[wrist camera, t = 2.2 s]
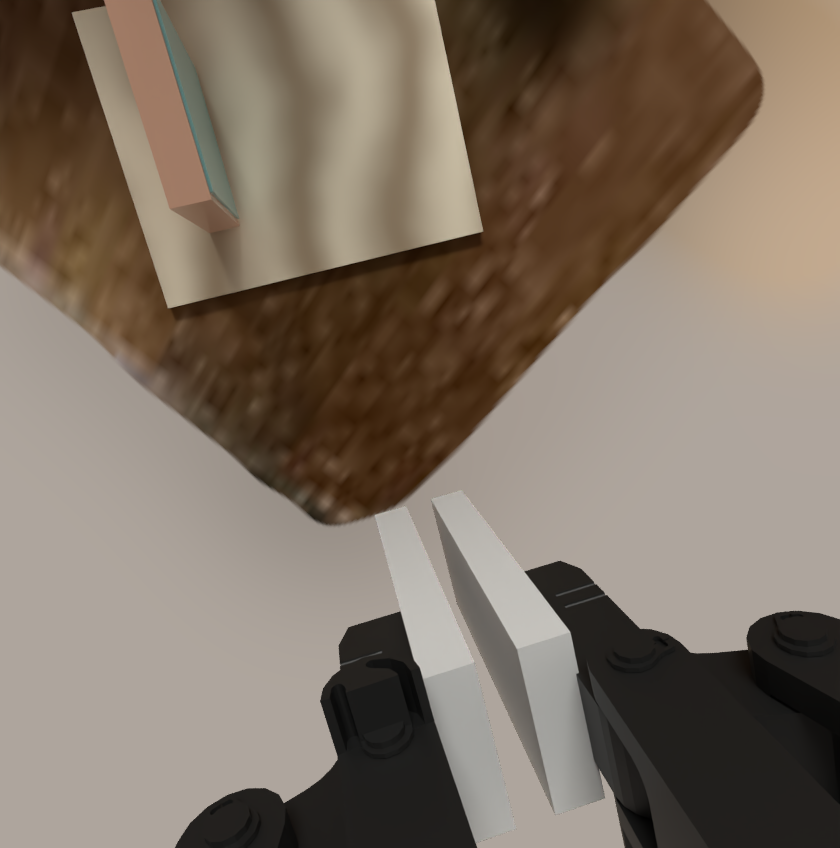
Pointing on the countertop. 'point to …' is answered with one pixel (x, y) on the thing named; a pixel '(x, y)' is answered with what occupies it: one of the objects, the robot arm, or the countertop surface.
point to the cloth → (300, 138)
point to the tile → (173, 114)
